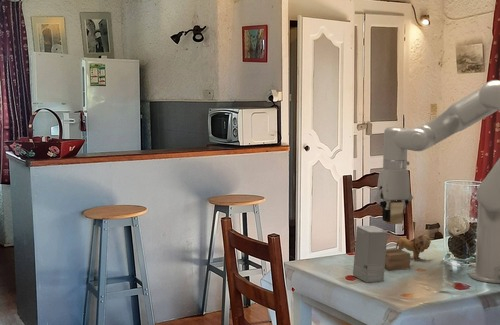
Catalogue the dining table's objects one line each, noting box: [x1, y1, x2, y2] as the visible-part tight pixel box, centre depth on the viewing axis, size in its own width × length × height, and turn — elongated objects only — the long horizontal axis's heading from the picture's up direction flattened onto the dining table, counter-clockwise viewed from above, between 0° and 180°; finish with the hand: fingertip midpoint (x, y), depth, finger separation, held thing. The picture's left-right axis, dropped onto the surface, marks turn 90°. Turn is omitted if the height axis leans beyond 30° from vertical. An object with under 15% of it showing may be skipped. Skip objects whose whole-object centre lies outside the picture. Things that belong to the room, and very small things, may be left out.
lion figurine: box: [395, 234, 432, 262], centre depth 209 cm, size 15×5×9 cm, turn 48°
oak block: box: [382, 200, 404, 225], centre depth 197 cm, size 4×4×7 cm
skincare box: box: [352, 225, 389, 283], centre depth 184 cm, size 8×7×16 cm
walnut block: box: [384, 247, 411, 272], centre depth 198 cm, size 8×8×5 cm
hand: (392, 220), depth 197 cm, fingers closed on oak block, 4 cm apart
